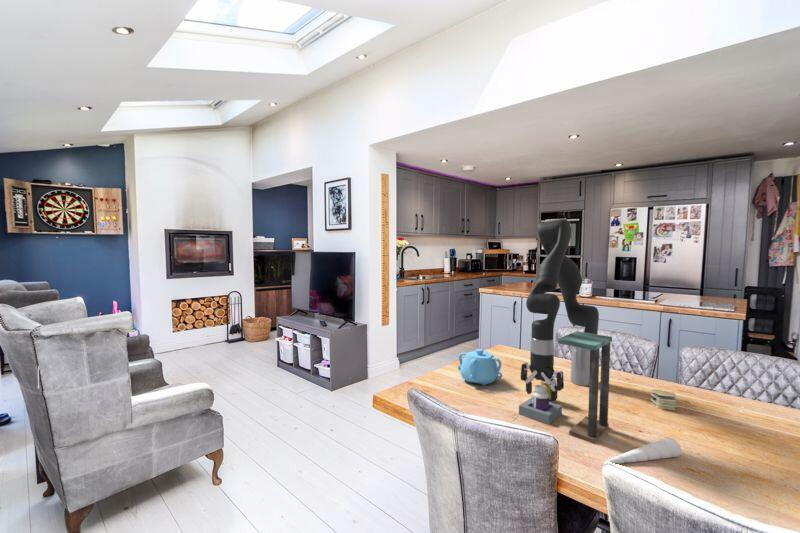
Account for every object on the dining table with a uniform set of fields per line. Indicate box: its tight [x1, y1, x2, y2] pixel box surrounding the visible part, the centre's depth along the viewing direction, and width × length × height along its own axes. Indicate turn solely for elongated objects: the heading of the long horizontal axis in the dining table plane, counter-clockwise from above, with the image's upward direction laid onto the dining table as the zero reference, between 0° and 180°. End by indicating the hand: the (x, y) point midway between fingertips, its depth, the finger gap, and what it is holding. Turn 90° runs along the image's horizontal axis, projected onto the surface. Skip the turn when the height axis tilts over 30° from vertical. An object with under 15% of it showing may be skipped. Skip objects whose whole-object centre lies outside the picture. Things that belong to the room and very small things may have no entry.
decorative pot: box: [457, 348, 503, 386], centre depth 160 cm, size 16×16×14 cm
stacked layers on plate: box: [650, 388, 678, 412], centre depth 134 cm, size 10×9×6 cm
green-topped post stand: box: [557, 330, 613, 444], centre depth 117 cm, size 15×11×29 cm
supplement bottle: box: [540, 375, 557, 404], centre depth 139 cm, size 6×6×10 cm
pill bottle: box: [531, 384, 549, 412], centre depth 128 cm, size 5×5×10 cm
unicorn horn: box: [601, 437, 682, 465], centre depth 102 cm, size 5×24×5 cm, turn 99°
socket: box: [518, 396, 563, 425], centre depth 128 cm, size 10×10×3 cm
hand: (541, 397), depth 128 cm, fingers open, 8 cm apart
